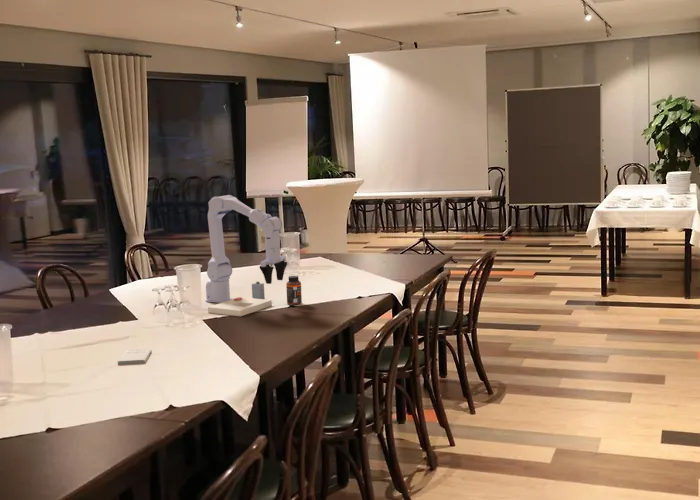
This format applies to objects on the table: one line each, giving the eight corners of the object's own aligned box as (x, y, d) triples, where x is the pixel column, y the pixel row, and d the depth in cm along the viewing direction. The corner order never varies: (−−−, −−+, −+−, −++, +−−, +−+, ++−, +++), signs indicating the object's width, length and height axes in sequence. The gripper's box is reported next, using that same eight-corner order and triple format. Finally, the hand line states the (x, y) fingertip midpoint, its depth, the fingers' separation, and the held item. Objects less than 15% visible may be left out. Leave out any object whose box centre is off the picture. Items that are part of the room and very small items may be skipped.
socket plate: (208, 312, 302) (207, 305, 301) (240, 302, 319) (239, 295, 318) (240, 316, 294) (240, 308, 293) (271, 305, 311) (271, 298, 310)
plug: (252, 300, 321) (251, 282, 320) (256, 299, 323) (256, 280, 322) (260, 301, 319) (259, 282, 318) (264, 300, 321) (263, 281, 320)
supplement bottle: (299, 305, 309) (298, 277, 307) (285, 305, 310) (284, 277, 308) (303, 302, 314) (302, 275, 313) (289, 302, 316) (288, 275, 314)
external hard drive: (117, 366, 236) (125, 354, 248) (145, 364, 236) (151, 353, 249) (117, 361, 235) (125, 349, 248) (144, 359, 236) (151, 348, 248)
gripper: (270, 251, 297) (271, 285, 299) (291, 245, 309) (293, 279, 311) (255, 250, 300) (257, 284, 303) (277, 245, 313) (278, 278, 315)
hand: (274, 281), depth 307 cm, fingers open, 7 cm apart
